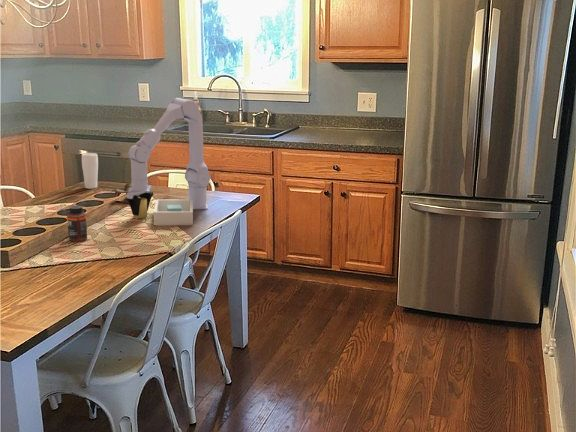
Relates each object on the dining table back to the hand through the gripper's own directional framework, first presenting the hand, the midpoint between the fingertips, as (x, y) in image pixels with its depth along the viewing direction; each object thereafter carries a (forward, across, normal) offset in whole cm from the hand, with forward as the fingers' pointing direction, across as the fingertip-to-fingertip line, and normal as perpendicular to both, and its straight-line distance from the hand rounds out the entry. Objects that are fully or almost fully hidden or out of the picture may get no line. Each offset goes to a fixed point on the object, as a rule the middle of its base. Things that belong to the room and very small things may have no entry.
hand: (140, 212), depth 235 cm
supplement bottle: (+2, -32, +5) cm, 32 cm away
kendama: (+2, +20, +18) cm, 27 cm away
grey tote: (+2, +4, -12) cm, 13 cm away
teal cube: (+1, +1, -14) cm, 14 cm away
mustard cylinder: (+2, 0, 0) cm, 2 cm away
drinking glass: (+2, +30, +43) cm, 52 cm away
